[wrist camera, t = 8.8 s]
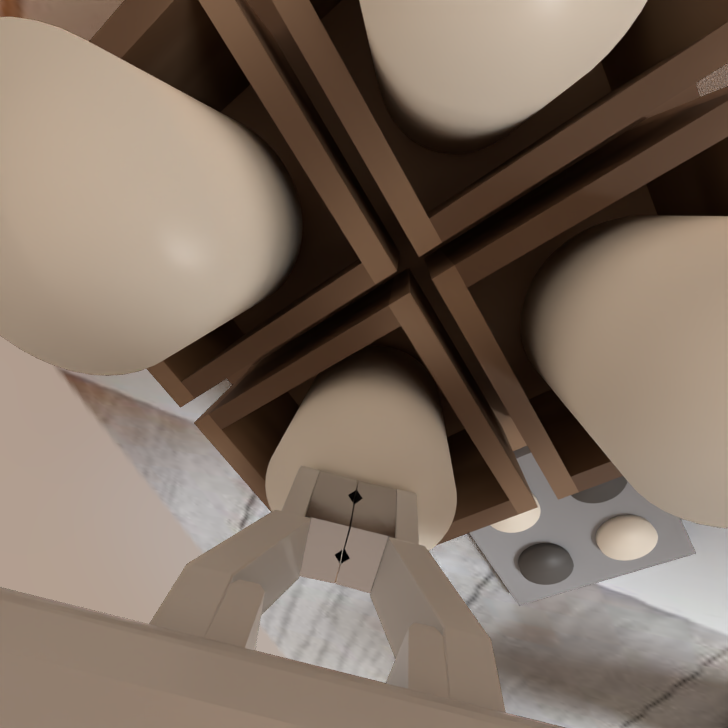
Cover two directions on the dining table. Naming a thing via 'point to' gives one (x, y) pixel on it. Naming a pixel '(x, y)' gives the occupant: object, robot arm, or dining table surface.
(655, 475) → the button
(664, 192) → the button board
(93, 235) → the button
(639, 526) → the pattern card
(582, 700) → the dining table surface
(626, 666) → the dining table surface
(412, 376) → the button
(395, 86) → the button
